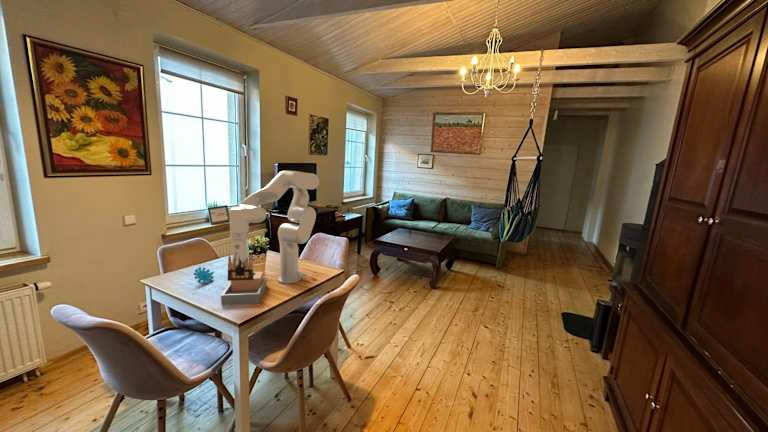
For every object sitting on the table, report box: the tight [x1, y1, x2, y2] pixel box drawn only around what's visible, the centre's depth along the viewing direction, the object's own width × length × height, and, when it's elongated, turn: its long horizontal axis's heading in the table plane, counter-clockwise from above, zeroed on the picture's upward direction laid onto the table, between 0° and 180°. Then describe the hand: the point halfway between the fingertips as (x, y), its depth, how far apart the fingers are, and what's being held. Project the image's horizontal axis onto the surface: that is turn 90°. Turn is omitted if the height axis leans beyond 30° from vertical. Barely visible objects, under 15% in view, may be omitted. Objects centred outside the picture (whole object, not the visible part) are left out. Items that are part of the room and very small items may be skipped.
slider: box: [230, 270, 264, 291], centre depth 153 cm, size 9×13×7 cm
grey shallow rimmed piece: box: [220, 276, 267, 306], centre depth 148 cm, size 20×16×4 cm
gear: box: [193, 266, 215, 285], centre depth 161 cm, size 11×6×10 cm
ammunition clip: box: [227, 253, 254, 282], centre depth 139 cm, size 11×2×12 cm, turn 102°
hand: (240, 274), depth 140 cm, fingers closed on ammunition clip, 2 cm apart
